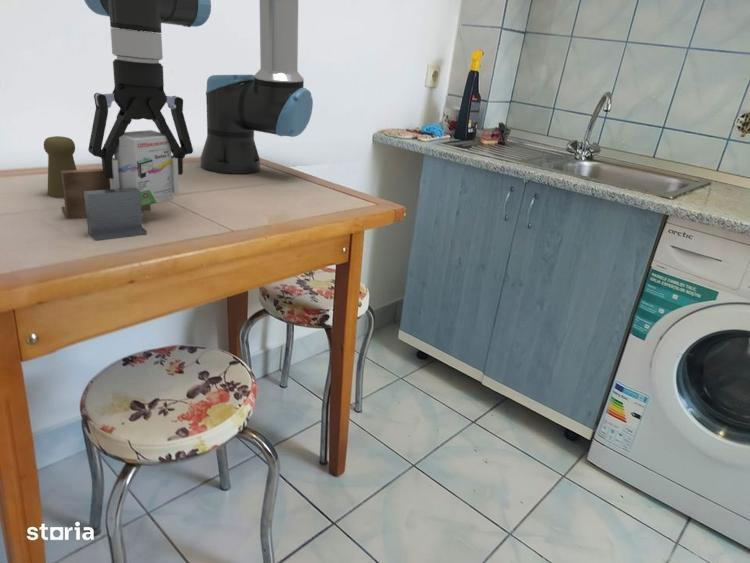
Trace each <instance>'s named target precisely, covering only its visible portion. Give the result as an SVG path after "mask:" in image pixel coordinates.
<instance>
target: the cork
mask: <svg viewBox="0 0 750 563" xmlns="http://www.w3.org/2000/svg"><path fill="white" fill-rule="evenodd" d="M43 149H44V151H45V153H46V154H47V155H48V156H47V157H48V158H47V159H48V161H47V196H48V197H51V198H56V199H57V198H58V199H64V193H63V185H62V176H61V171H69V170H78V169H77V166H76V163H75V162H76V161H75V159H74V154H75V151H76V143H75V142H74V141H73V139H71V138H70V137H66V136H58V135H57V136H56V135H55V136H50V137H47V138H45V139H44V141H43Z"/></svg>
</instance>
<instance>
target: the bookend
mask: <svg viewBox="0 0 750 563" xmlns="http://www.w3.org/2000/svg"><path fill="white" fill-rule="evenodd" d="M84 197H85V206H86V216H87V217H86V222H87V232H88V234H89V235H90V236H91V238H92V239H93V240H94V241H101V240H102V241H103V240H109V239H110V240H111V239H119V238H128V237H136V236H143V235H147V233H148V231H147V230H146V229H145V228H144V227H143V216H142V211H141V198H140V190H138V189H137V188H123V189H109V190H94V191H84Z"/></svg>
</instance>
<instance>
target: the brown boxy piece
mask: <svg viewBox="0 0 750 563" xmlns="http://www.w3.org/2000/svg"><path fill="white" fill-rule="evenodd" d="M61 176H62V185H63V193H64V198H63V200H64V206H61V212H62V213H64V215H65V216H66V218H68V219H76V218H77V219H78V218H87V216H86V206H85V197H84V191H94V190H109V189H110V179H107V178H106V177H104V175H103V168H94V169H93V168H91V169H77V170H69V171H61ZM151 210H152V209H151V204H149V205H145V206H141V212H148V211H149V212H150V211H151Z"/></svg>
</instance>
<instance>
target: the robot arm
mask: <svg viewBox="0 0 750 563" xmlns="http://www.w3.org/2000/svg"><path fill="white" fill-rule="evenodd" d="M83 1H84V3H85V5H86V6H87V7H88V9H89V10H91V11H92V12H93V13H95V14H97V15H100V16H103V17H104V16H105V17H108V18H109V26H110V40H111V53H112V55H113V56H115V57H116V58H115V59H113V61H112V70H113V82H114V89H113V90H112V92H111V93H100V92H95V93H94V94H93V98H94V103H95V104H94V105H95V111H94V117H93V122H92V128H91V133H90V139H89V145H88V149H87V150H88V153H90V154H91V155H92V156H94V157H97V158H101V166H102V168H101V169H103V175H104V177H106V178H107V179H110V189H120V186H119V173H118V160H116V159H115V157H114V153H115V151H116V149H117V147H118V145H119V137H121V136H122V135H124V133H125V132H126V130H127V128H128V126H130V124H131V122H132V121H133V120H138V121H139V120H142V119H144V120H148V121H152V122H153V123H154V124H155V126H156V128H157V130H158V132H160V133H161V134H163V135H165V136H166V138H167V140H168V142H169V144H170V146H171V164H172V189H173V195H179V194H180V190H179V188H180V187H179V186H180V184H179V176H182V175H183V173H184V163H183V162H184V161H183V160H184V159H185V157H186V155H189V154H190V155H191V154H192V153H193V152H194V148H193V145H192V141H191V138H190V134H189V130H188V127H187V122H186V119H185V116H184V113H183V111H184V99H183V97H180V96H176V95H172V96H170V95H167V94H166V92H165V90H164V87H165V86H164V85H165V84H164V81H165V80H164V66H163V65H162V63H160V61H161V60H163V57H164V56H163V40H162V24H167V25H174V26H175V25H176V26H182V27H186V28H192V27H195V28H196V27H200V26H203V25H204V24H205V23H206V22H207V21H208V19H209V18H210V15H211V12H212V1H211V0H83ZM298 42H299V0H259V46H260V47H259V48H260V49H259V53H260V54H259V55H260V58H259V59H260V68H259V70H258V71H257V72H256V73H255V74H212V75H210V76H208V78H207V80H206V91H205V96H206V98H205V100H206V132H207V133H206V135H207V136H206V138H205V141H204V145H203V148H202V151H201V155H200V167H201V168H202V169H204V170H206V171H210V172H217V173H220V174H222V173H223V174H232V175H233V174H236V175H238V174H252V173H256V172H258V171H260V170H261V159H260V156H259V152H258V149H257V146H256V143H255V142H256V141H255V132H261V133H266V134H271V135H275V136H276V135H277V136H279V137H291V138H292V137H293V138H294V137H295V138H296V137H297V136H299V135H302V133H304V131H305V130H306V128H307V127H308V125H309V123H310V119H311V116H312V114H313V113H312V112H313V105H314V103H313V100H314V99H313V96H312V93H311V91H310V89H307V88H306V87H304V82H305V81H304V77H303V76H302V75H301V74H300V73H299V71H298V58H299V57H298V55H299V53H298V51H299V49H298V48H299V47H298V46H299V44H298ZM113 102H115V104H116V105H117V106H118V107H119V110H118V113H117V115H116V118H115V122H114V123H113V126H112V127H111V130H110V132H109V133H108V136H107V138H106V140H105V142H104V144H103V141H104V137H105V133H106V132H105V131H106V126H107V120H108V114H109V108H111V106H112V103H113ZM166 104H167V107H168V109H170V112H171V117H172V120H173V125H174V127H175V128H174V129H175V131H176V135H177V138H178V140H179V143H178V141H177V139H176V138H175V136H174V134H173V132H172V130H171V129H170V127H169V125H168V123H167V121H166V118H165V117H164V115H163V112H161V111H162V109H163V107H165V105H166ZM179 144H180V145H179Z"/></svg>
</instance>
